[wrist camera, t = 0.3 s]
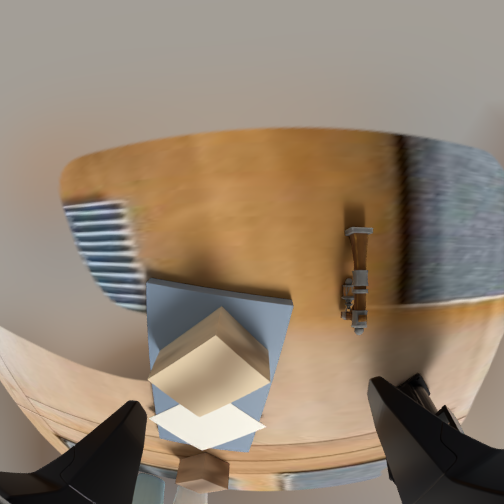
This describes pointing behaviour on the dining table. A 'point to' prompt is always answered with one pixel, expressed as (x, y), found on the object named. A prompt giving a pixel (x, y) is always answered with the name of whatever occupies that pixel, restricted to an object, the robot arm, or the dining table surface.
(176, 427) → the board
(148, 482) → the cup
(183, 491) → the shot glass
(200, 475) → the walnut block
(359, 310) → the wooden post with brackets
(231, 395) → the beech block
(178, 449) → the dining table surface
